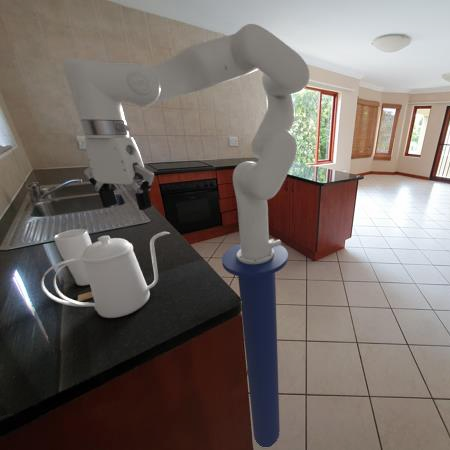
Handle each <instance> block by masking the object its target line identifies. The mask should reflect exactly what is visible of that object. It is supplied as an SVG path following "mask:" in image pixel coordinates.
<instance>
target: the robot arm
mask: <svg viewBox="0 0 450 450" xmlns="http://www.w3.org/2000/svg"><path fill="white" fill-rule="evenodd" d="M62 66H63V71H64V73H65V77H66V81H67V83H68V86H69V90H70V93H71V96H72V100H73V102H74V105H75V109H76V112H77V115H78V118H79V121H80V124H81V128H82V132H83V134H84V143H85V144H84V145H85V150H86V156H87V159H88V164H89V166H88V167H86V169H84V170H83V172H84V175H85V176H86V177H87V179H88V181H89V183H90V184H91V185H93V187H94V190H95V191H96V192H98V195H99V198H100V202H101V204H102V207H103V208H111V207H112V206H116V205H117V204H118V200H117V198H116V194H115V191H114V188H113V187H111V186H112V185H123V186H124V185H126V186H131V188H132V189H133V190H134V191H135V192H136V193H135V194H134V195H135V199H136V203H137V207H138V210H139V211H145V210H147V209H149V208H152V205H153V204H152V201H151V197H150V191H151V188H152V186H153V185H154V178H155V173H154V172H152V171H151V170H149V169H147V168H146V167H145V164H144V162H143V158H142V155H141V152H140V150H139V147H138V146H137V144H136V143H137V142H136V141H135V139H134V137H133V136H130V133H129V132H130V130H131V129H130V126H129V124H127V121H126V118H125V117H126V116H125V113H124V110H123V105H122V102H124V103H125V102H126V103H129V104H130V105H132V106H134V107H138V108H147V107H151V106H153V105H157V104H159V103H163V102H165V101H168V100H171V99H173V98H174V99H175V98H177V97H180V96H183V95H186V94H190V93H195V92H199V91H202V90H206V89H208V88H212V87H215V86H217V85H220V84H223V83H225V82H230V81H231V80H235V79H238V78H241V77H244V76H247V75H249V74H251V73H254V72H256V71H258V70H259V71H260V72H262V75H261V80H262V81H261V83H262V86H263V89H264V93H265V95H266V99H267V108H266V111H265V114H264V116H263V118H262V120H261V122H260V124H259V127H258V128H257V130H256V132H255V134H254V136H253V138H252V141H251V145H250V149H251V153H252V154H253V156H254V157H255V158H256V159H257V161H251V160H250V161H249V160H248V161H246V160H245V161H242V162H240V163H239V164H237V165H236V166H235V168H234V170H233V173H232V185H233V186H232V187H233V189H234V194H235V195H234V196H235V200H236V207H237V208H236V209H237V219H238V220H237V221H238V230H239V241H240V243H239V244H241V249H240V250H239V251H238V252H237V259H238V260H239V261H240V262H242V263H245V264H261V263H265V262H267V261H269V260H270V259H272V258H273V256H274V250H273V249H272V248H274V246H278V245H281V246H282V241H281V240H280V239H276V240H275V239H274V238H270V232H269V230H270V229H269V206H268V200H271V199H272V198H275V196H276V195H277V194H278V192H279V191H280V190H281V188H282V186H283V185H284V182H285V181H286V178H287V176H288V174H289V172H290V170H291V168H292V165H293V164H294V161H295V159H296V156H297V151H298V144H297V141H296V140H297V139H296V138H295V136H294V135H293V134H292V132H291V129H292V127H293V124H294V121H295V117H296V110H295V109H296V108H295V104H294V99H293V96H292V95H295V94H299V93H302V92H303V91H304V90H305V89H306V87H307V86H308V84H309V81H310V69H309V66H308V64H307V62H306V60H305V59H304V58H303V56H301V54H299V52H297V51H296V50H294V49H293V48H292V47H291V46H289V45H288V44H287V43H285V42H284V41H283V40H282V39H280V38H279V37H277V36H276V35H275V34H274V33H272V32H270V31H269V30H267V29H266V28H264V27H263V26H260V25H258V24H255V23H248V24H245V25H244V26H242V27H241V28H240V29H238V31H236V32H234V33H233V34H230V35H225V36H222V37H218V38H214V39H211V40H206V41H203V42H199V43H195V44H191V45H189V46H187V47H185V48H183V49H181V50H180V51H179V52H178V53H176V54H175V55H173V56H171V57H170V58H167V59H165V60H164V61H161V62H158V63H155V64H152V65H148V66H145V65H143V64H141V63H137V62H129V61H128V62H127V61H124V62H105V61H104V62H102V61H99V60H95V59H90V58H82V57H79V58H78V57H71V58H70V57H69V58H67V59H65V60H64V61H63V65H62Z"/></svg>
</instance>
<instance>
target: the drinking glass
mask: <svg viewBox="0 0 450 450" xmlns="http://www.w3.org/2000/svg"><path fill="white" fill-rule="evenodd" d="M53 240H54V243H55V245H56V248H57V251H58V253H59V255H60V256H61V258H62V260H63V261H66V260H70V259H76V258H81V256H82V254H83V252H84V250H85V249H86V248H87V247H88V246H89V245H91V244H93V242H92V240H91V237H90V235H89V231H88V230H87V229H84V228H78V229H77V228H76V229H70V230H66V231H62V232H60V233H57V234H55V235H54V236H53ZM66 267H67V268H68V270H69V272H70V274H71V276H72V278H73V280H74V282H75V284H76V285H77V286H81V287H82V286H90V283H89V279H88V275H87V271H86V268H85V266H84V265H83V262H82V261H79V262H74V263H70V264H68V265H67V266H66Z"/></svg>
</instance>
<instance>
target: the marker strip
mask: <svg viewBox="0 0 450 450" xmlns="http://www.w3.org/2000/svg"><path fill="white" fill-rule="evenodd" d="M91 299H94V298H93V294H92V291H88V292H84V293H82V294H79V295H77V301H78V302H84V301H87V300H91Z"/></svg>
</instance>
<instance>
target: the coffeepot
mask: <svg viewBox="0 0 450 450" xmlns="http://www.w3.org/2000/svg"><path fill="white" fill-rule="evenodd" d="M170 234H171V232H169V231H161V232H158V233H156V234H154V235H153V236H152V237H151V238H150V241H149V250H150V255H151V256H150V257H151V262H152V269H153V276H154V277H153V279H154V280H153V281H152V282H151V283H150V284H149V285H147V282H146V280H145V277H144V275H143V271H142V269H141V267H140V263H139V261H138V258H137V257H136V256H137V255H136V254H135V252H134V246H133V243H131V242H129V241H128V240H126V239H125V238H120V237H113V238H111V237H110V235H102V236H99V237H98V238H97V241H95V242H92V244H91V245H89V246H88V247H87V248H86V249H85V250H84V252H83V254H82V256H81V258H76V259H70V260H66V261H64V260H63V261H59V262H58V263H56V264H54V265H52V266H51V267H49V268H48V269H47V270H46V271H45V272H44V274H43V276H42V278H41V281H40V286H41V287H40V288H41V290H42V291H43V293H44V294H45V295H46V296H47V297H48V298H49V299H50V300H53V301H54V302H56V303H58V304H62V305H65V306H70V307H71V306H72V307H82V308H83V307H94V310H95V311H96V313H97V314H98V315H99V316H100V317H102V318H106V319H115V318H116V319H117V318H121V317H125V316H128V315H130V314H133V313H134V312H136V311H138V310H140V309H141V308H143V306H145V304H147V302H148V301H149V299H150V297H151V296H150V295H151V293H150V289H152V288H153V287H155V286H156V285H157V283H158V281H159V272H158V264H157V257H156V250H155V241H156V239H158V238H161V237H163V236H166V235H170ZM79 261H82V262H83V265H84V266H85V268H86V271H87V275H88V279H89V283H90V284H89V287H90V290H91V291H90V292H92V294H93V298H92V299H93V301H94V302H89V301H87V302H86V301H85V302H84V301H81V302H78V300H74V299H72V298H70V297H67V296H66V295H64V294H63V293H62V291H60V289H59V288H58V285H57V281H56V279H57V276H58V274H59V272H60V271H62V270H63V269H64V268H65V267H67V265H68V264H70V263H74V262H79ZM59 266H60V267H59ZM57 267H59V268H58V269H57V271H56V273H54V274H55V275H54V276H53V287H54V291H55V293H56V295H58V297H57V296H55V295H53V294H52V293H51V292H49V290H48V289H47V287H46V286H45V282H44V281H45V276H46V275H47V274H48V273H49V272H51V271H52V270H53V269H55V268H57Z"/></svg>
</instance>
